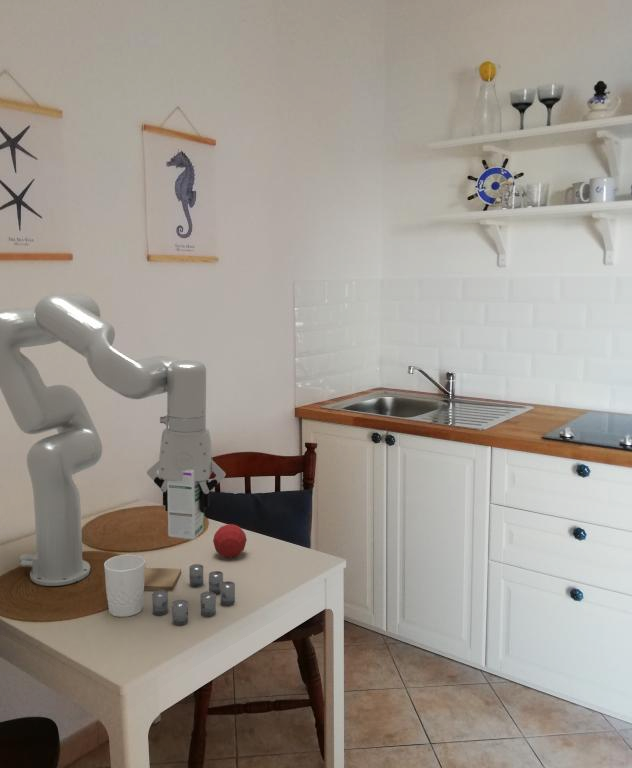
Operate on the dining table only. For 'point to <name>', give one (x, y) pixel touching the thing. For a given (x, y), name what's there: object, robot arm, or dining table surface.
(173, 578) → the tan board
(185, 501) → the syrup box
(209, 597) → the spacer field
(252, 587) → the dining table surface
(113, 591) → the white cup
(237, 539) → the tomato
